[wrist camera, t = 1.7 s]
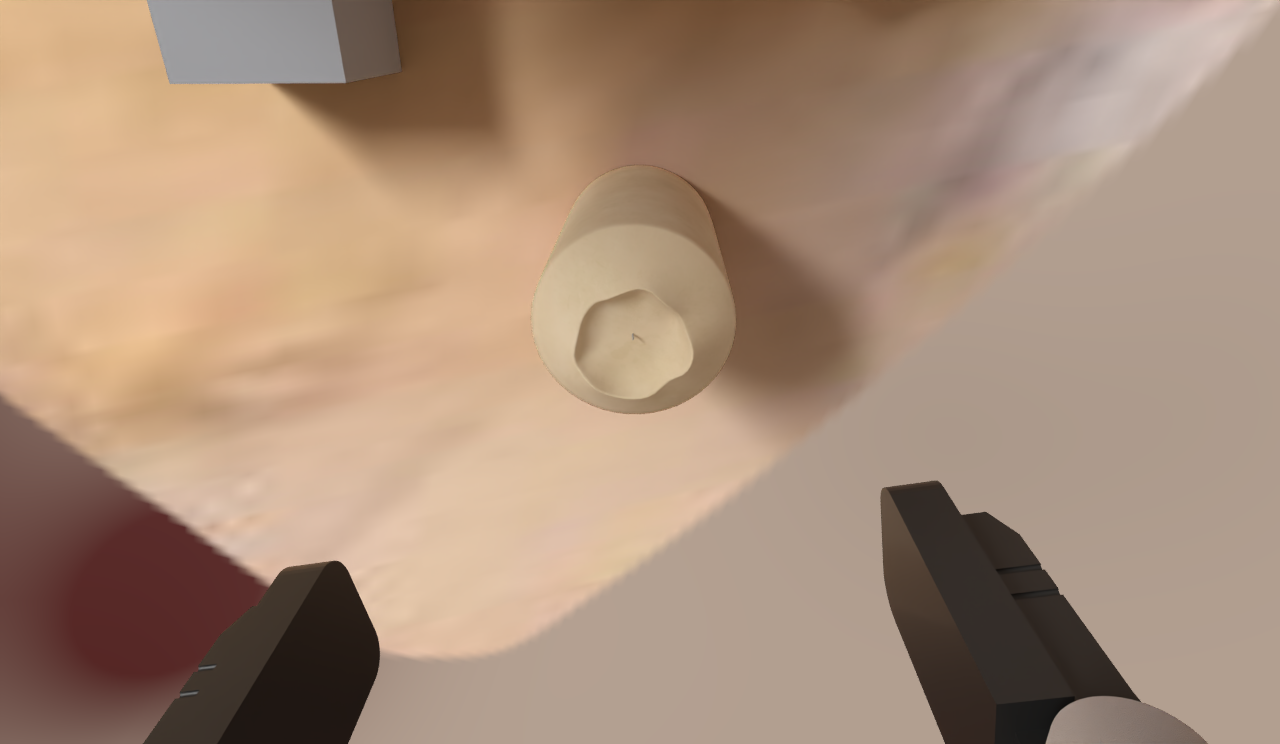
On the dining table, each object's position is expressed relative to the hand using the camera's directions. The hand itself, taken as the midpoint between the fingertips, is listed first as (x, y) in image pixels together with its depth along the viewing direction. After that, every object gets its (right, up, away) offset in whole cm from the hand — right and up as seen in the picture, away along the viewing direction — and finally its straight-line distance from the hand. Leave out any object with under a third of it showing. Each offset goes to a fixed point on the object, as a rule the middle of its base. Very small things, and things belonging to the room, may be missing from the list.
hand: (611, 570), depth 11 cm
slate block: (-10, +15, +13) cm, 23 cm away
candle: (0, +8, +16) cm, 18 cm away
